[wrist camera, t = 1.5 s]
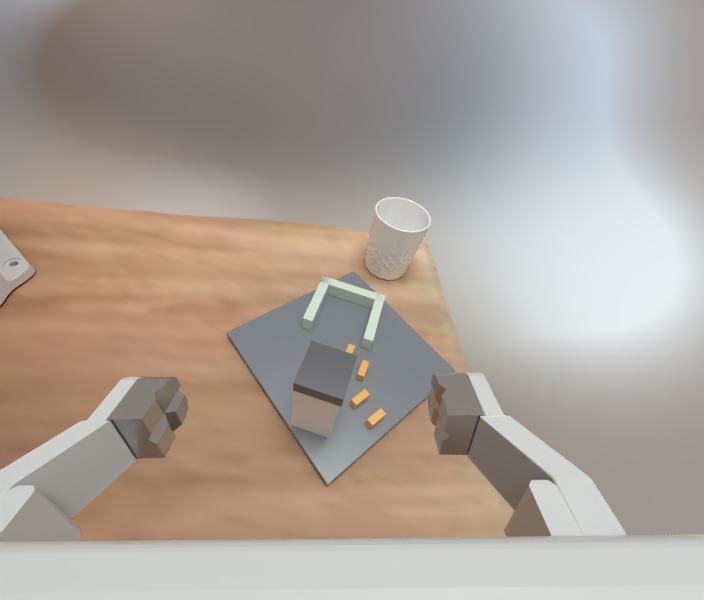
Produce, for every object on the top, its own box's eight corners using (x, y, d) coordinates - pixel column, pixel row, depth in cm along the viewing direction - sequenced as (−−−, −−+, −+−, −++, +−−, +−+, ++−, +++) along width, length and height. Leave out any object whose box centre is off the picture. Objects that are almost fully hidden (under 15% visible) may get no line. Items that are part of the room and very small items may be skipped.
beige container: (290, 425, 32) (293, 382, 24) (305, 389, 34) (311, 340, 27) (328, 438, 32) (344, 400, 24) (340, 401, 34) (357, 355, 27)
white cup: (352, 255, 51) (364, 201, 43) (391, 244, 54) (409, 193, 47) (378, 289, 47) (396, 237, 39) (418, 275, 50) (442, 225, 43)
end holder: (369, 349, 39) (373, 341, 38) (302, 327, 39) (302, 317, 38) (381, 304, 44) (385, 295, 43) (321, 285, 44) (323, 275, 43)
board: (227, 335, 38) (225, 326, 36) (353, 274, 48) (355, 265, 46) (326, 485, 30) (329, 481, 28) (452, 374, 40) (459, 366, 38)
